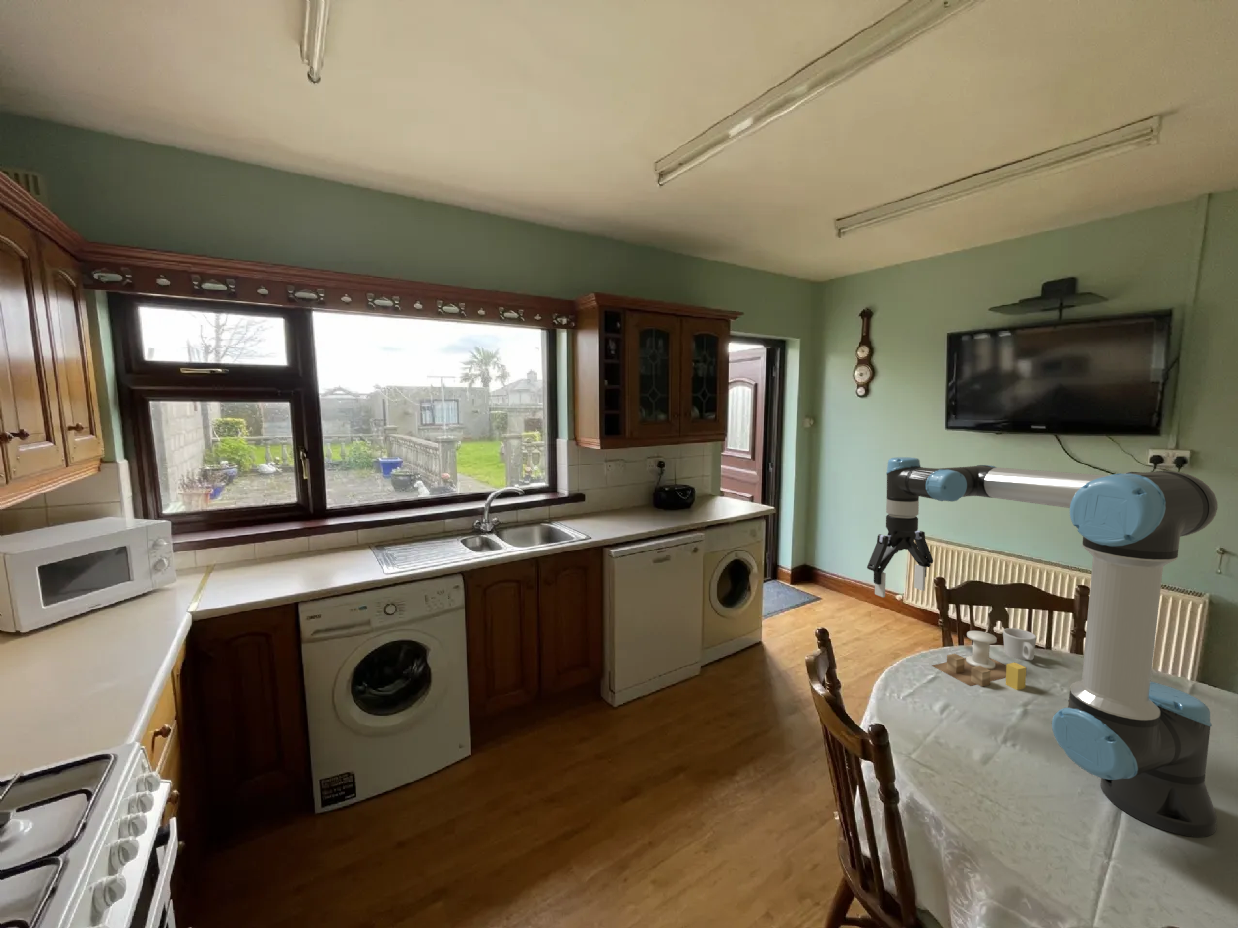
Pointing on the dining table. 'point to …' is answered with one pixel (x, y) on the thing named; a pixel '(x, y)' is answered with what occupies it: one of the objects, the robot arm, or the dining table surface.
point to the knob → (981, 649)
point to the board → (971, 671)
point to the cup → (1019, 643)
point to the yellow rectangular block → (1015, 676)
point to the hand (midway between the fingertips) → (899, 592)
